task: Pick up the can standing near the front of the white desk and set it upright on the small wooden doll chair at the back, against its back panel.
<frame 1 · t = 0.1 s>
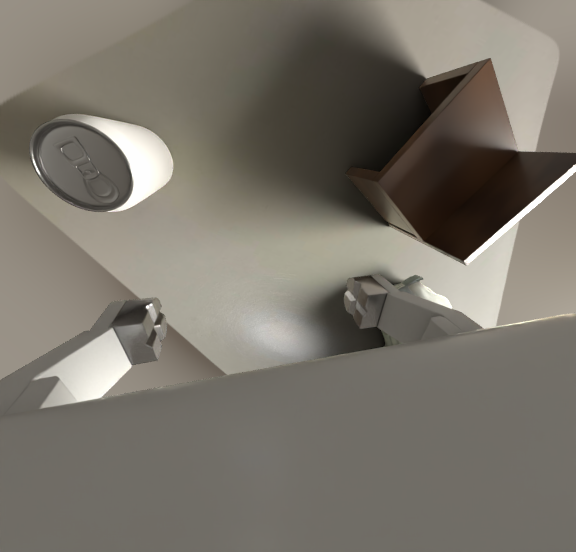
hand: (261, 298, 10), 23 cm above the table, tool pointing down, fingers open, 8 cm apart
can: (143, 159, 25), on the table
wooden doll chair: (405, 162, 32), on the table
baseball cleat: (400, 320, 50), on the table
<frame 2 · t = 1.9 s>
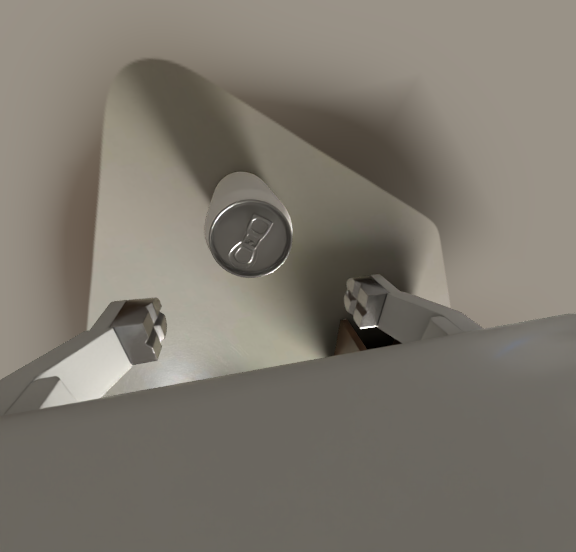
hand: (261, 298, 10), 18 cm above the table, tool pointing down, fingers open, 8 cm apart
can: (243, 202, 25), on the table
wooden doll chair: (369, 338, 43), on the table
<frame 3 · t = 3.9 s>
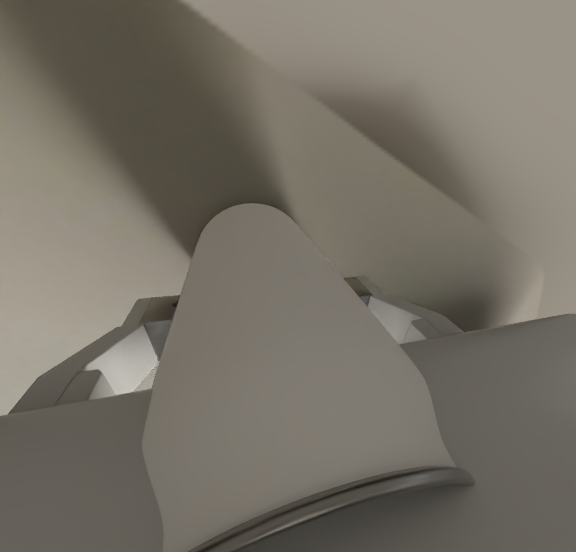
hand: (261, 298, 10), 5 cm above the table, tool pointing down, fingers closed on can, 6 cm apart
can: (252, 253, 14), on the table, touching gripper
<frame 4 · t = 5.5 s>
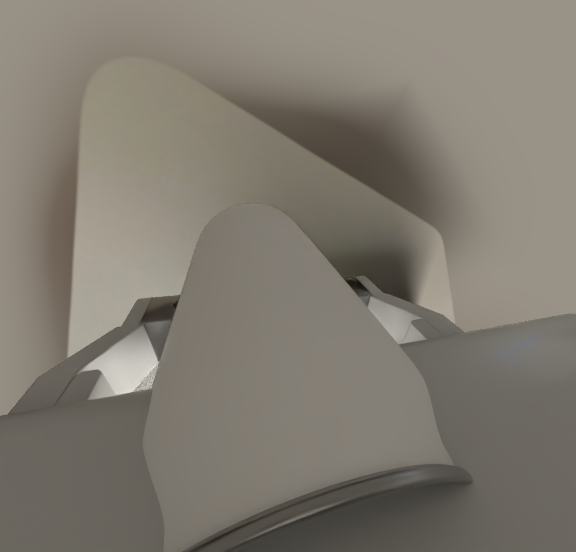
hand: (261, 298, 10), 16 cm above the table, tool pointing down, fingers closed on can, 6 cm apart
can: (252, 253, 14), point 11 cm above the table, touching gripper
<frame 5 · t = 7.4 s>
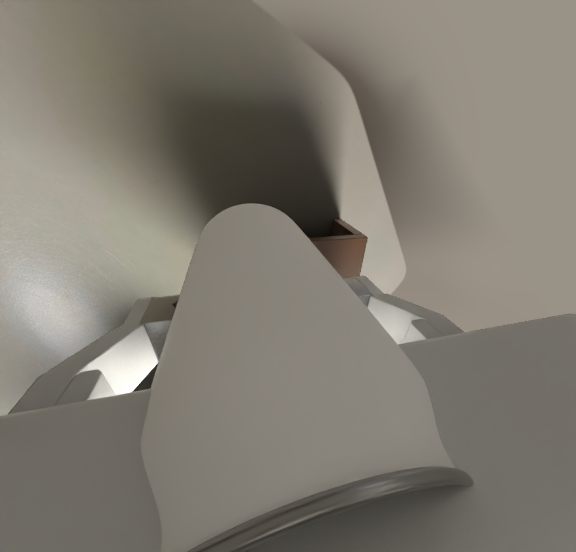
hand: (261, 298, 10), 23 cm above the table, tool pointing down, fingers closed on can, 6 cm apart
can: (252, 253, 14), point 18 cm above the table, touching gripper
wooden doll chair: (295, 257, 36), on the table
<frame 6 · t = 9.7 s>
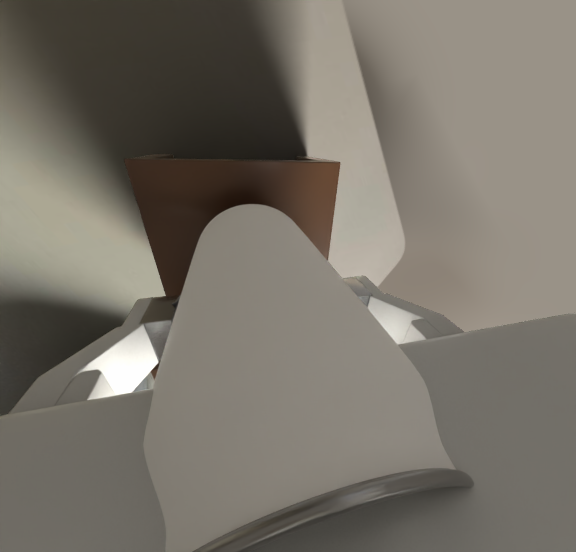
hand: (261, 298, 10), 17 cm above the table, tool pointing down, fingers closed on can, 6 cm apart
can: (252, 254, 14), point 12 cm above the table, touching gripper
wooden doll chair: (242, 217, 24), on the table
when the fingers open (12 cm above the table, at t = 11.4 s): can stays where it is, resting on wooden doll chair.
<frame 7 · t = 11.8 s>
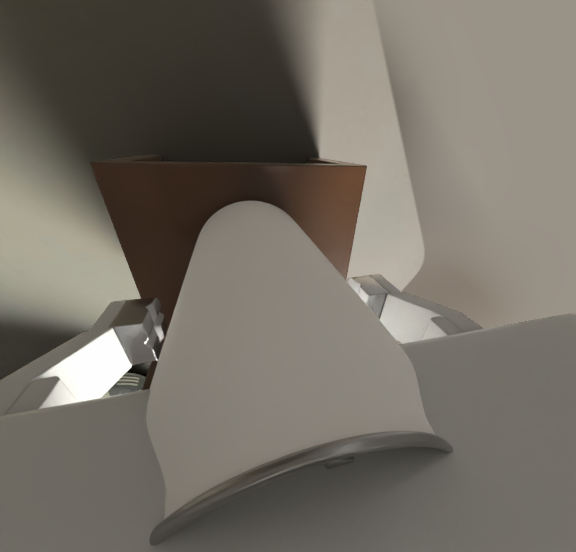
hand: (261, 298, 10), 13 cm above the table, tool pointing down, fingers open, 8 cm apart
can: (251, 250, 14), point 8 cm above the table, touching wooden doll chair
wooden doll chair: (244, 227, 21), on the table
baseball cleat: (131, 423, 32), on the table
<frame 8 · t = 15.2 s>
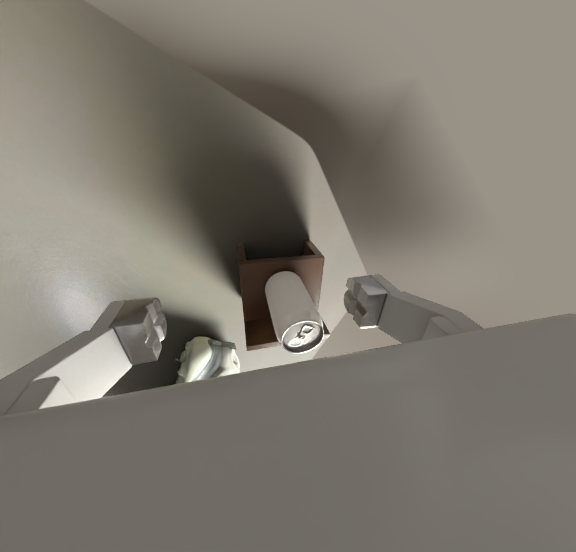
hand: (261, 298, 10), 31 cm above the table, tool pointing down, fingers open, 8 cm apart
can: (283, 285, 38), point 8 cm above the table, touching wooden doll chair
wooden doll chair: (274, 269, 45), on the table
baseball cleat: (204, 373, 56), on the table
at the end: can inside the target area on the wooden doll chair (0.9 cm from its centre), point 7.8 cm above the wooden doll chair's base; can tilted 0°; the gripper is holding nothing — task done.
